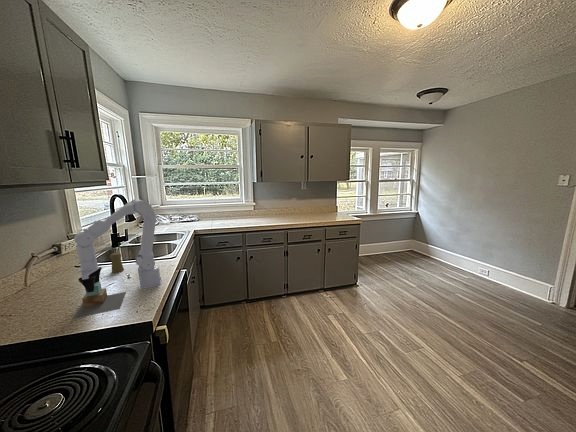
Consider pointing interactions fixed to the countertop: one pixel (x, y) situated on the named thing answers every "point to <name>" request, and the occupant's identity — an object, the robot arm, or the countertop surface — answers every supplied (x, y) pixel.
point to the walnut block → (95, 298)
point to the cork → (116, 263)
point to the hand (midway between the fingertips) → (93, 287)
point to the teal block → (95, 289)
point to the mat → (102, 306)
